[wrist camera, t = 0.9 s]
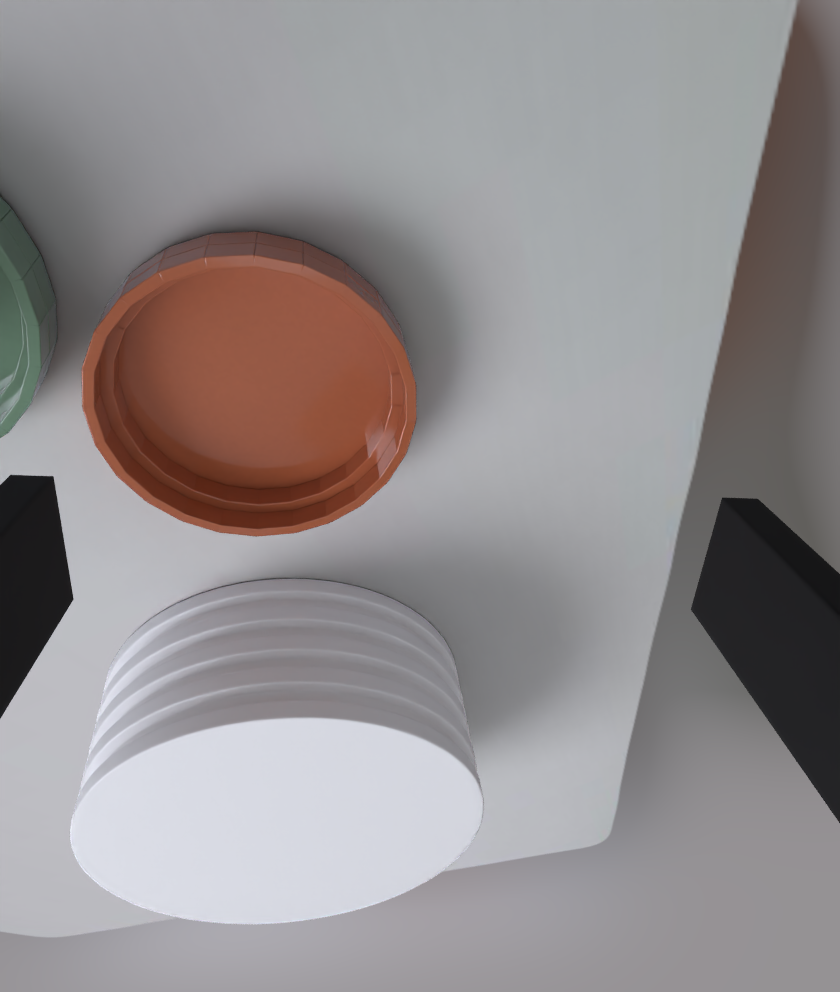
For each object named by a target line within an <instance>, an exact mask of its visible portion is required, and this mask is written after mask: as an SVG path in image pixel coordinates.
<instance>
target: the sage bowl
mask: <svg viewBox="0 0 840 992" xmlns="http://www.w3.org/2000/svg"><path fill="white" fill-rule="evenodd" d="M56 342H57V320H56V299H55V295H54V292H53V289H52V286H51V283H50V280H49V277H48V274H47V271H46V268H45V265H44V262H43V259H42V256H41V255H40V253H39V251H38V249H37V248H36V246H35V245H34V243H33V241H32V240H31V238H30V237H29V235H28V233H27V232H26V230H25V229H24V227H23V225H22V224H21V222H20V221H19V219H18V217H17V216H16V214H15V213H14V211H13V210H12V209H11V207H10V206H9V205H8V204H7V203H6V202H5V201H4V200H3V199H2V198H1V197H0V438H1V437H3V436H4V435H6V434H7V433H8V432H9V431H10V430H11V429H12V428H13V426H14V425H15V424H16V423H17V421H18V420H19V419H20V417H21V416H22V415H23V413H24V412H25V411H26V409H27V408H28V407H29V406H30V404H31V402H32V400H33V399H34V397H35V395H36V393H37V391H38V389H39V387H40V385H41V384H42V382H43V380H44V378H45V376H46V374H47V372H48V368H49V365H50V362H51V358H52V355H53V352H54V348H55V345H56Z"/></svg>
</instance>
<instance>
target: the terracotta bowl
mask: <svg viewBox="0 0 840 992" xmlns="http://www.w3.org/2000/svg"><path fill="white" fill-rule="evenodd" d="M82 407H83V411H84V414H85V417H86V420H87V423H88V426H89V429H90V432H91V435H92V438H93V441H94V443H95V446H96V447H97V448H98V450H99V451H100V453H101V454H102V456H103V457H104V458H105V460H106V461H107V463H108V464H109V466H110V467H111V468H112V470H113V471H114V473H115V474H116V476H118V477H119V478H120V479H121V480H122V481H123V482H124V483H125V484H127V485H128V486H129V487H130V488H131V489H132V490H133V491H135V492H136V493H137V494H138V495H139V496H140V497H142V498H143V499H144V500H145V501H147V502H148V503H149V504H151V505H153V506H155V507H157V508H159V509H160V510H162V511H164V512H166V513H168V514H170V515H171V516H173V517H175V518H177V519H179V520H182V521H183V522H186V523H190V524H193V525H196V526H199V527H203V528H206V529H209V530H213V531H216V532H220V533H229V534H238V535H248V536H267V535H279V534H290V533H297V532H301V531H304V530H307V529H311V528H314V527H318V526H321V525H324V524H328V523H330V522H333V521H334V520H336V519H338V518H340V517H342V516H344V515H345V514H347V513H349V512H351V511H353V510H355V509H356V508H358V507H360V506H361V505H363V504H364V503H365V502H366V501H367V500H369V499H370V498H371V497H372V496H373V495H374V494H375V493H376V492H377V491H379V490H380V489H381V488H382V487H383V486H384V485H385V484H386V483H387V482H388V481H389V479H390V478H391V476H392V475H393V473H394V472H395V470H396V469H397V467H398V466H399V464H400V463H401V461H402V459H403V458H404V456H405V455H406V453H407V450H408V447H409V444H410V440H411V437H412V434H413V430H414V427H415V424H416V419H417V418H416V382H415V378H414V374H413V369H412V365H411V361H410V357H409V354H408V351H407V348H406V345H405V341H404V338H403V335H402V332H401V329H400V326H399V323H398V321H397V320H396V318H395V317H394V315H393V314H392V312H391V311H390V309H389V308H388V306H387V305H386V303H385V302H384V300H383V299H382V297H381V296H380V294H379V293H378V291H376V289H375V288H374V287H373V286H372V285H370V284H369V283H368V282H367V281H366V280H365V279H363V278H362V277H361V276H360V275H359V274H358V273H357V272H355V271H354V270H353V269H352V268H351V267H350V266H348V265H347V264H346V263H345V262H343V261H342V260H340V259H338V258H336V257H334V256H332V255H330V254H328V253H326V252H324V251H322V250H320V249H318V248H316V247H314V246H312V245H310V244H308V243H306V242H303V241H300V240H295V239H290V238H286V237H281V236H276V235H271V234H267V233H262V232H234V233H213V234H208V235H205V236H202V237H199V238H196V239H193V240H190V241H187V242H183V243H180V244H177V245H174V246H171V247H168V248H167V249H164V250H163V251H161V252H160V253H159V254H157V255H156V256H154V257H153V258H151V259H150V260H148V261H147V262H145V263H144V264H143V265H141V266H140V267H138V268H137V269H135V270H134V271H132V273H131V274H130V275H129V276H128V277H127V278H126V280H125V281H124V282H123V284H122V285H121V286H120V288H119V289H118V290H117V292H116V293H115V294H114V295H113V297H112V298H111V299H110V301H109V302H108V303H107V305H106V307H105V309H104V311H103V313H102V316H101V318H100V320H99V322H98V324H97V326H96V328H95V330H94V333H93V336H92V339H91V342H90V345H89V348H88V351H87V354H86V357H85V360H84V363H83V366H82Z"/></svg>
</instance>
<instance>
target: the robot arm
mask: <svg viewBox="0 0 840 992" xmlns="http://www.w3.org/2000/svg"><path fill="white" fill-rule="evenodd" d="M72 601H73V594H72V587H71V581H70V575H69V569H68V563H67V557H66V551H65V545H64V538H63V532H62V526H61V520H60V514H59V508H58V502H57V496H56V490H55V483H54V477H53V476H23V475H10V476H9V477H8V478H7V479H6V480H5V481H4V482H3V483H2V484H1V485H0V718H1V717H2V715H3V713H4V712H5V710H6V708H7V707H8V705H9V703H10V702H11V700H12V699H13V697H14V695H15V694H16V692H17V690H18V689H19V687H20V686H21V684H22V682H23V681H24V679H25V677H26V676H27V674H28V673H29V671H30V669H31V668H32V666H33V664H34V663H35V661H36V659H37V658H38V656H39V655H40V653H41V651H42V650H43V648H44V646H45V645H46V643H47V642H48V640H49V638H50V637H51V635H52V633H53V632H54V630H55V629H56V627H57V625H58V624H59V622H60V620H61V619H62V617H63V616H64V614H65V612H66V611H67V609H68V607H69V606H70V604H71V602H72ZM691 610H692V612H693V613H694V614H695V616H696V617H697V619H698V620H699V622H700V623H701V624H702V626H703V627H704V629H705V630H706V632H707V633H708V635H709V636H710V637H711V639H712V640H713V642H714V643H715V645H716V646H717V647H718V649H719V650H720V652H721V653H722V654H723V656H724V657H725V659H726V660H727V662H728V663H729V665H730V666H731V668H732V669H733V670H734V672H735V673H736V675H737V676H738V677H739V679H740V680H741V682H742V683H743V685H744V686H745V688H746V689H747V691H748V692H749V693H750V695H751V696H752V698H753V699H754V701H755V702H756V703H757V705H758V706H759V708H760V709H761V710H762V712H763V713H764V715H765V716H766V718H767V719H768V721H769V722H770V723H771V725H772V726H773V728H774V729H775V731H776V732H777V734H778V735H779V736H780V738H781V739H782V741H783V742H784V744H785V745H786V746H787V748H788V749H789V751H790V752H791V754H792V755H793V757H794V758H795V759H796V761H797V762H798V764H799V765H800V767H801V768H802V770H803V771H804V772H805V773H806V775H807V776H808V778H809V780H810V781H811V782H812V784H813V785H814V787H815V788H816V790H817V791H818V793H819V794H820V795H821V797H822V798H823V800H824V801H825V802H826V804H827V805H828V807H829V808H830V810H831V811H832V813H833V814H834V815H835V817H836V818H837V820H838V821H839V823H840V574H839V573H838V572H837V571H836V570H835V569H834V568H832V567H831V566H830V565H829V564H828V563H827V562H826V561H824V559H823V558H822V557H820V556H819V555H818V554H817V553H816V552H815V551H814V550H813V549H812V548H811V547H809V545H807V544H806V543H805V542H804V541H803V540H802V539H801V538H800V537H799V536H798V535H797V534H795V533H794V532H793V531H792V530H791V529H790V528H789V527H788V526H787V525H786V524H785V523H783V522H782V521H781V520H780V519H779V518H778V517H777V516H776V515H775V514H773V512H772V511H770V510H769V509H768V508H767V507H766V506H765V505H764V504H763V503H762V502H761V501H759V500H758V499H747V498H722V500H721V504H720V507H719V511H718V515H717V518H716V522H715V525H714V529H713V532H712V536H711V540H710V543H709V547H708V551H707V554H706V557H705V561H704V565H703V568H702V572H701V576H700V579H699V582H698V586H697V590H696V593H695V597H694V601H693V604H692V608H691Z"/></svg>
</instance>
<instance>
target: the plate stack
mask: <svg viewBox="0 0 840 992" xmlns="http://www.w3.org/2000/svg"><path fill="white" fill-rule="evenodd" d="M483 812H484V800H483V794H482V789H481V785H480V780H479V776H478V773H477V766H476V760H475V756H474V751H473V746H472V743H471V738H470V732H469V727H468V722H467V717H466V714H465V709H464V703H463V698H462V693H461V689H460V685H459V679H458V674H457V669H456V664H455V661H454V658H453V655H452V653H451V650H450V648H449V647H448V645H447V643H446V642H445V640H444V638H443V637H442V636H441V635H440V633H439V632H438V631H437V630H436V629H435V628H434V627H433V626H432V625H431V624H430V623H429V622H428V621H427V620H426V619H424V618H423V617H422V616H421V615H419V614H418V613H417V612H415V611H414V610H412V609H410V608H409V607H407V606H405V605H404V604H402V603H400V602H398V601H396V600H394V599H392V598H389V597H387V596H385V595H382V594H380V593H377V592H374V591H371V590H368V589H364V588H361V587H357V586H353V585H348V584H343V583H338V582H331V581H323V580H313V579H271V580H260V581H252V582H246V583H240V584H235V585H230V586H226V587H222V588H218V589H214V590H211V591H208V592H205V593H202V594H199V595H196V596H193V597H191V598H188V599H186V600H184V601H182V602H179V603H177V604H175V605H173V606H171V607H169V608H168V609H166V610H164V611H162V612H161V613H159V614H158V615H156V616H154V617H153V618H152V619H150V620H149V621H147V622H146V623H145V624H144V625H142V626H141V627H140V628H139V629H138V630H137V631H135V632H134V633H133V634H132V635H131V636H130V637H129V639H128V640H127V641H126V642H125V643H124V644H123V646H122V647H121V648H120V650H119V651H118V653H117V654H116V656H115V658H114V660H113V662H112V664H111V666H110V669H109V672H108V675H107V679H106V683H105V687H104V691H103V697H102V700H101V703H100V707H99V711H98V715H97V720H96V726H95V729H94V732H93V736H92V740H91V744H90V748H89V753H88V760H87V762H86V765H85V768H84V772H83V776H82V780H81V785H80V791H79V796H78V798H77V802H76V805H75V809H74V813H73V817H72V821H71V827H70V841H71V846H72V850H73V853H74V855H75V857H76V859H77V861H78V863H79V864H80V866H81V867H82V869H83V870H84V871H85V872H86V873H87V874H88V876H89V877H90V878H92V879H93V880H94V881H95V882H96V883H97V884H99V885H100V886H101V887H103V888H104V889H105V890H107V891H108V892H110V893H112V894H114V895H115V896H117V897H119V898H121V899H123V900H125V901H127V902H130V903H132V904H134V905H137V906H139V907H142V908H145V909H148V910H151V911H154V912H158V913H161V914H165V915H169V916H174V917H179V918H185V919H190V920H196V921H204V922H213V923H228V924H272V923H286V922H296V921H304V920H311V919H317V918H323V917H329V916H333V915H338V914H342V913H346V912H351V911H354V910H358V909H362V908H365V907H368V906H371V905H374V904H377V903H380V902H383V901H386V900H388V899H391V898H393V897H396V896H398V895H400V894H403V893H405V892H407V891H409V890H411V889H413V888H415V887H417V886H419V885H421V884H423V883H424V882H426V881H428V880H430V879H431V878H433V877H434V876H436V875H437V874H439V873H440V872H442V871H443V870H444V869H446V868H447V867H448V866H450V865H451V864H452V863H453V862H454V861H455V860H456V859H457V858H458V857H459V856H461V854H462V853H463V852H464V851H465V850H466V849H467V848H468V846H469V845H470V844H471V842H472V841H473V839H474V838H475V836H476V834H477V832H478V830H479V828H480V825H481V822H482V818H483Z"/></svg>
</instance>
